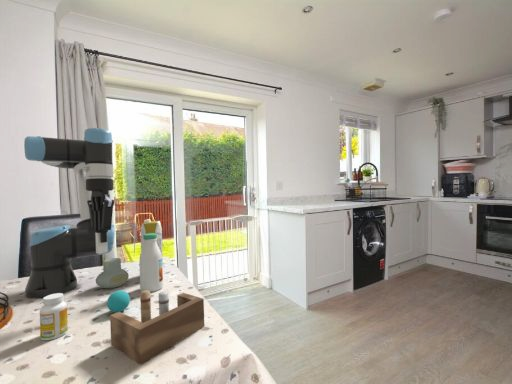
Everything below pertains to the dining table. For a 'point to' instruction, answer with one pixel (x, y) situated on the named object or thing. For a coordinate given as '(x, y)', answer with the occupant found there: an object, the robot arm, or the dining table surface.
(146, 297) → the beech pin
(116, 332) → the walnut backstop
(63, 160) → the robot arm
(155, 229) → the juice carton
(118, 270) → the air freshener
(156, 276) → the milk bottle
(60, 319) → the supplement bottle
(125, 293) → the ball
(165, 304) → the grey pin
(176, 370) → the dining table surface
